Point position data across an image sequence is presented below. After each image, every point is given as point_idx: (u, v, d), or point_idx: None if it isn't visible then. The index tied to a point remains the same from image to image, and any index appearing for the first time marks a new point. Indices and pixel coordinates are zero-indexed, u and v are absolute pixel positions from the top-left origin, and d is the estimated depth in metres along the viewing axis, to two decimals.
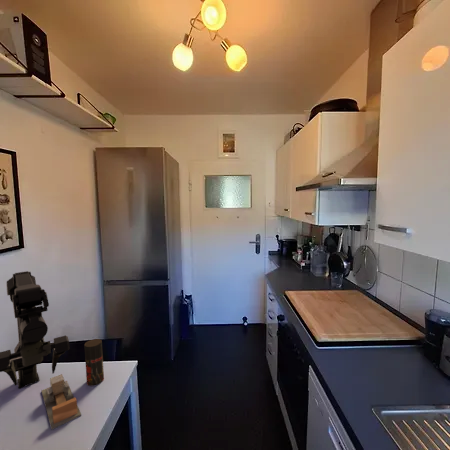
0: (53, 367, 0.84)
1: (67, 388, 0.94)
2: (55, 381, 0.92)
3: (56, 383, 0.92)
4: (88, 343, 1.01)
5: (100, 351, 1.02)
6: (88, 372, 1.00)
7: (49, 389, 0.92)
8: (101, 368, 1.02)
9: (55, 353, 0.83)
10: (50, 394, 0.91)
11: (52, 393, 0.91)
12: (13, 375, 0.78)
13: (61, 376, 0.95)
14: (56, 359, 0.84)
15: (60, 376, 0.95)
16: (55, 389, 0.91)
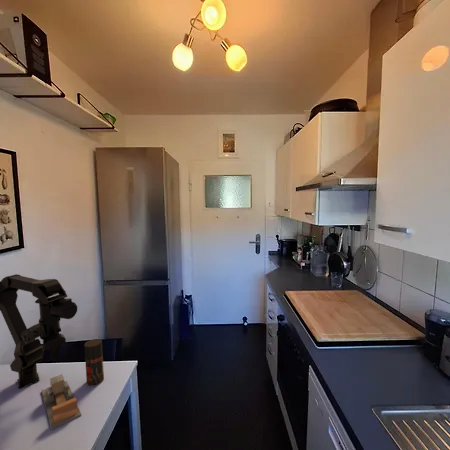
0: None
1: (67, 388, 0.94)
2: (55, 381, 0.92)
3: (56, 383, 0.92)
4: (88, 343, 1.01)
5: (100, 351, 1.02)
6: (88, 372, 1.00)
7: (49, 389, 0.92)
8: (101, 368, 1.02)
9: None
10: (50, 394, 0.91)
11: (52, 393, 0.91)
12: None
13: (61, 376, 0.95)
14: None
15: (60, 376, 0.95)
16: (55, 389, 0.91)
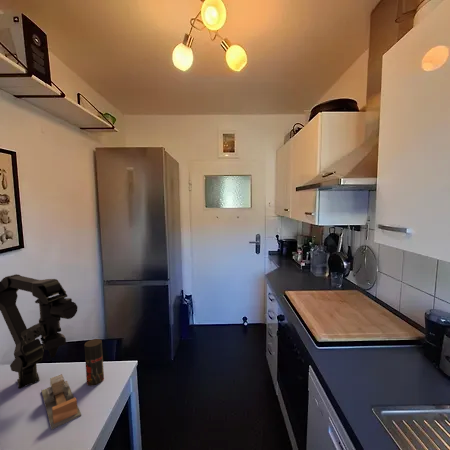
0: (49, 352, 0.97)
1: (67, 388, 0.94)
2: (55, 381, 0.92)
3: (56, 383, 0.92)
4: (88, 343, 1.01)
5: (100, 351, 1.02)
6: (88, 372, 1.00)
7: (49, 389, 0.92)
8: (101, 368, 1.02)
9: None
10: (50, 394, 0.91)
11: (52, 393, 0.91)
12: None
13: (61, 376, 0.95)
14: None
15: (60, 376, 0.95)
16: (55, 389, 0.91)
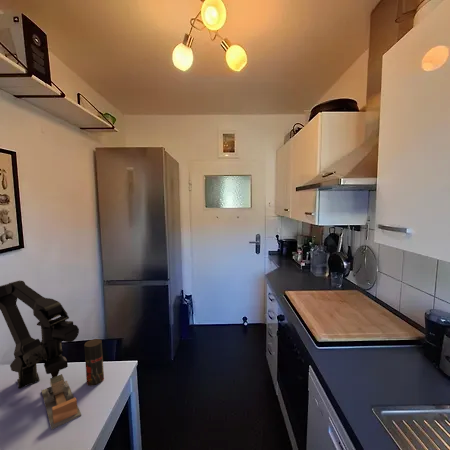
0: (51, 374, 0.98)
1: (67, 388, 0.94)
2: (55, 381, 0.92)
3: (56, 383, 0.92)
4: (88, 343, 1.01)
5: (100, 351, 1.02)
6: (88, 372, 1.00)
7: (49, 389, 0.92)
8: (101, 368, 1.02)
9: None
10: (50, 394, 0.91)
11: (52, 393, 0.91)
12: None
13: (61, 376, 0.95)
14: None
15: (60, 376, 0.95)
16: (55, 389, 0.91)
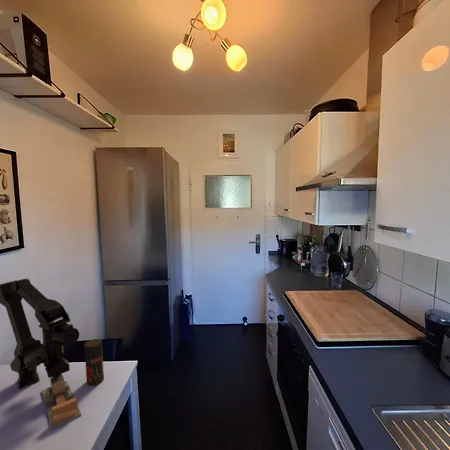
0: None
1: (67, 388, 0.94)
2: (55, 381, 0.92)
3: (56, 383, 0.91)
4: (88, 343, 1.01)
5: (100, 351, 1.02)
6: (88, 372, 1.00)
7: (49, 389, 0.92)
8: (101, 368, 1.02)
9: None
10: (50, 394, 0.91)
11: (52, 393, 0.91)
12: None
13: (61, 376, 0.95)
14: None
15: (60, 376, 0.95)
16: (55, 389, 0.91)
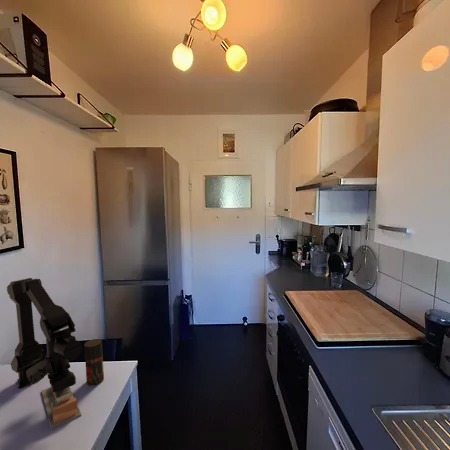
0: None
1: None
2: (60, 395, 0.85)
3: (61, 397, 0.85)
4: (88, 343, 1.01)
5: (100, 351, 1.02)
6: (88, 372, 1.00)
7: (53, 403, 0.86)
8: (101, 368, 1.02)
9: None
10: None
11: None
12: None
13: (66, 389, 0.88)
14: None
15: (65, 389, 0.88)
16: None
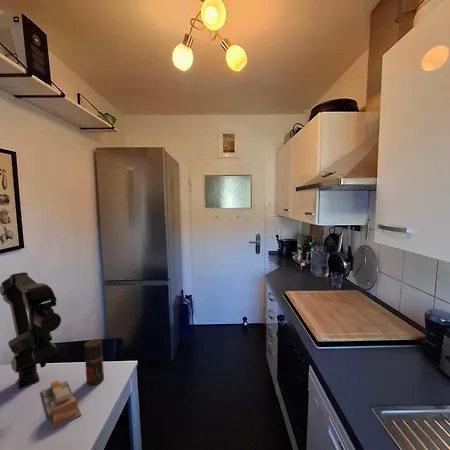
0: (39, 362, 0.92)
1: None
2: (60, 395, 0.85)
3: (61, 397, 0.85)
4: (88, 343, 1.01)
5: (100, 351, 1.02)
6: (88, 372, 1.00)
7: (53, 403, 0.86)
8: (101, 368, 1.02)
9: None
10: None
11: None
12: None
13: (66, 389, 0.88)
14: None
15: (65, 389, 0.88)
16: None
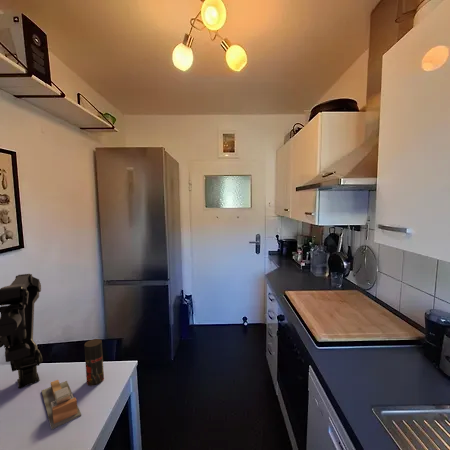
0: (14, 363, 0.91)
1: None
2: (60, 395, 0.85)
3: (61, 397, 0.85)
4: (88, 343, 1.01)
5: (100, 351, 1.02)
6: (88, 372, 1.00)
7: (53, 403, 0.86)
8: (101, 368, 1.02)
9: None
10: None
11: None
12: None
13: (66, 389, 0.88)
14: None
15: (65, 389, 0.88)
16: None
